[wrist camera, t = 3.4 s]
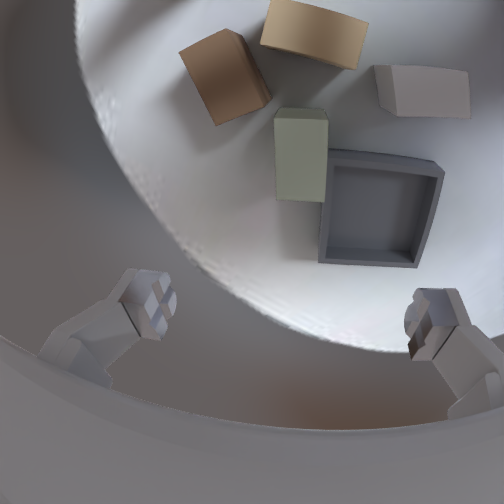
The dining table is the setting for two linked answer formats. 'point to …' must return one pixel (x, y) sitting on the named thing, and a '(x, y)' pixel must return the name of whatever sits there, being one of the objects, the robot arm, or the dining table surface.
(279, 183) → the block sage
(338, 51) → the block oak
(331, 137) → the dining table surface
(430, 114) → the block grey
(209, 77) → the block walnut
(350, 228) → the slate dish
